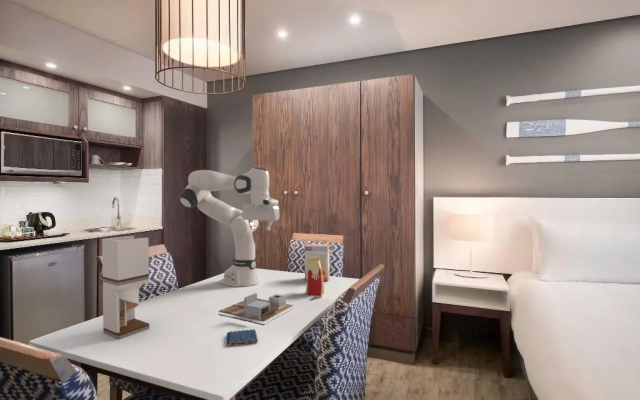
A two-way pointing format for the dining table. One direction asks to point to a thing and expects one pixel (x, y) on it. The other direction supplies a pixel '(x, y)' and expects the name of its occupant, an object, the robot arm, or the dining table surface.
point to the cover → (255, 306)
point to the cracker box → (324, 254)
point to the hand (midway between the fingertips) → (260, 229)
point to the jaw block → (277, 301)
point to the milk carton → (315, 278)
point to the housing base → (239, 311)
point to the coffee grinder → (123, 284)
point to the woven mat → (241, 337)
